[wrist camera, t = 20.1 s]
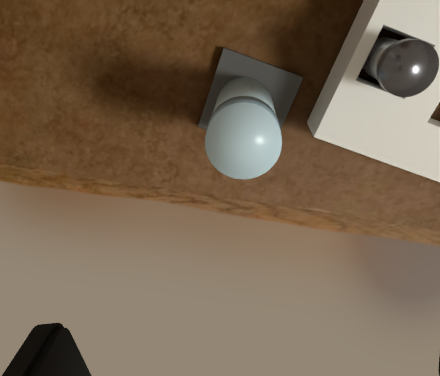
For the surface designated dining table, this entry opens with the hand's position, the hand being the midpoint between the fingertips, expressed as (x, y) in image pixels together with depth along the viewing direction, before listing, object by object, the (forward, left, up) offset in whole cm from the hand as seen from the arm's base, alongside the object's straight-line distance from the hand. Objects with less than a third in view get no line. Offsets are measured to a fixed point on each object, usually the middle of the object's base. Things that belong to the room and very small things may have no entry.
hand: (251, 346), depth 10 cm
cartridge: (0, 0, -26) cm, 26 cm away
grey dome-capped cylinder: (+8, +7, -25) cm, 28 cm away
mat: (0, 0, -26) cm, 26 cm away
